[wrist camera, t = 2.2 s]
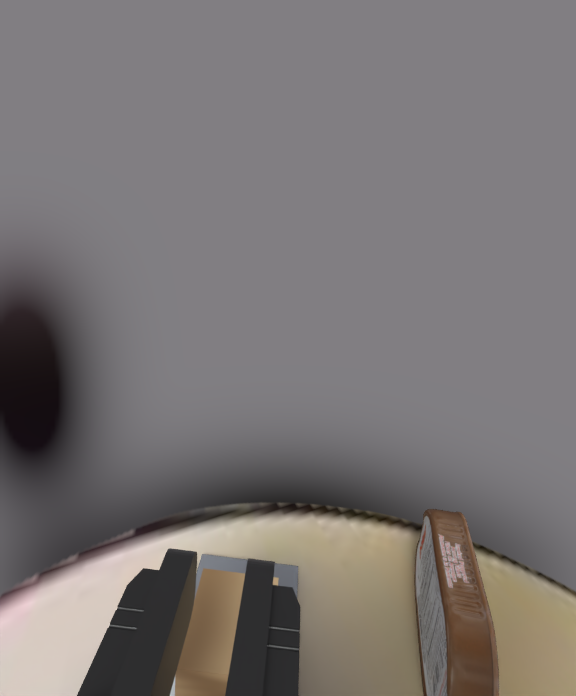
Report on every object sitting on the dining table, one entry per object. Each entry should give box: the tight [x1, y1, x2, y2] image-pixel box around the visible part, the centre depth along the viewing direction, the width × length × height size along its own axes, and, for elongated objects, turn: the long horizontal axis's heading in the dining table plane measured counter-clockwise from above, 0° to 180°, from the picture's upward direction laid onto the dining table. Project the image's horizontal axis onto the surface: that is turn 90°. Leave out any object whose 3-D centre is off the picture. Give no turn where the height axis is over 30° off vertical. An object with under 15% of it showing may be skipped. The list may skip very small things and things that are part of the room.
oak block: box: [175, 568, 279, 696], centre depth 22 cm, size 4×5×10 cm
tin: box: [415, 509, 499, 696], centre depth 30 cm, size 15×3×8 cm, turn 169°
